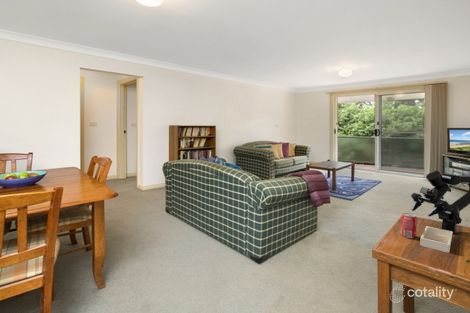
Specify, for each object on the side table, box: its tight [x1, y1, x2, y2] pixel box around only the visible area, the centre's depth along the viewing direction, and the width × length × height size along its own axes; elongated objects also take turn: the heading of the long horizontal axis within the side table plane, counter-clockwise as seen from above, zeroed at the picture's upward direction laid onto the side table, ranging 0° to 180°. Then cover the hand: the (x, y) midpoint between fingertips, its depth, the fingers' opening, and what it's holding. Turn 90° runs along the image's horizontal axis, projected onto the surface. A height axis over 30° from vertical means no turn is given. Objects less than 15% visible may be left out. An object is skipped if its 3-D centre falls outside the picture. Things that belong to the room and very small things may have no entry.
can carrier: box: [419, 225, 453, 254], centre depth 129 cm, size 21×11×4 cm, turn 137°
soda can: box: [400, 212, 418, 239], centre depth 136 cm, size 7×7×12 cm
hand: (420, 213), depth 137 cm, fingers open, 9 cm apart
